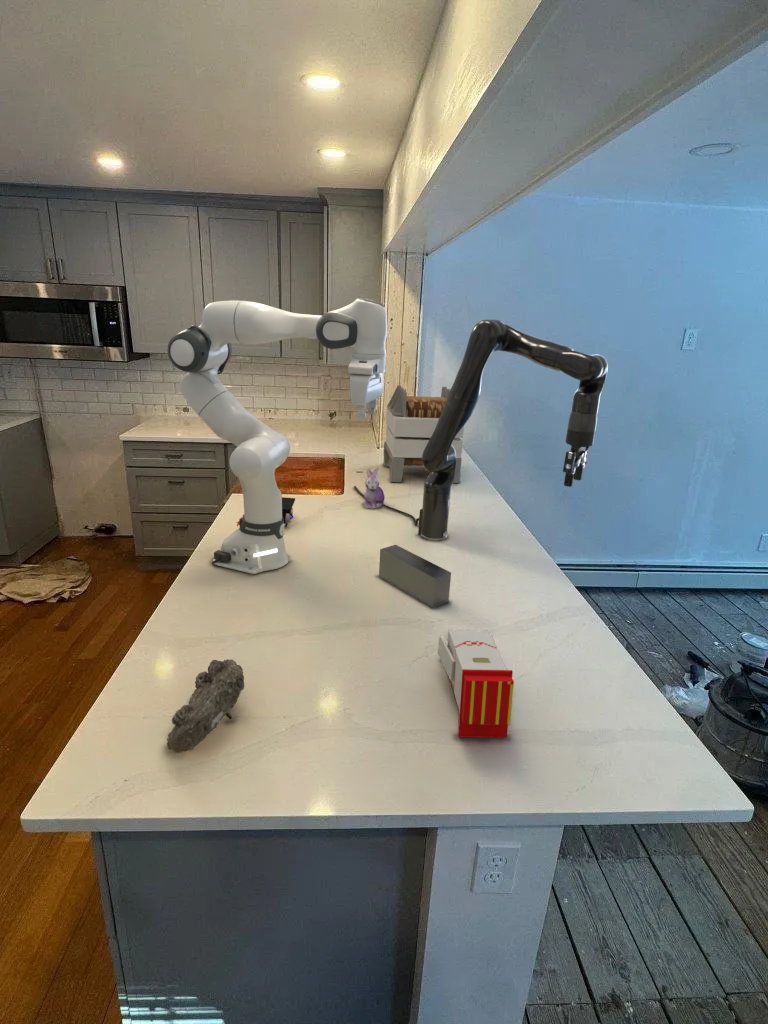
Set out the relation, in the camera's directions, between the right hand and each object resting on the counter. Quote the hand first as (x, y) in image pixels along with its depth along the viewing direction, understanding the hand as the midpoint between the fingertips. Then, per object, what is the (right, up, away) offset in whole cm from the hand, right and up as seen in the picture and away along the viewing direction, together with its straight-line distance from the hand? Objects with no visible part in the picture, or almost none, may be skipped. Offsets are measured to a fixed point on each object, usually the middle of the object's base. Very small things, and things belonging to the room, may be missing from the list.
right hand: (572, 482), depth 165 cm
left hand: (-60, +17, -12) cm, 63 cm away
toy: (-37, -46, -47) cm, 76 cm away
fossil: (-88, -48, -57) cm, 115 cm away
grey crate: (-38, +10, +110) cm, 116 cm away
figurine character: (-91, -12, +40) cm, 100 cm away
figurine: (-59, -6, +62) cm, 86 cm away
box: (-47, -30, -4) cm, 56 cm away
